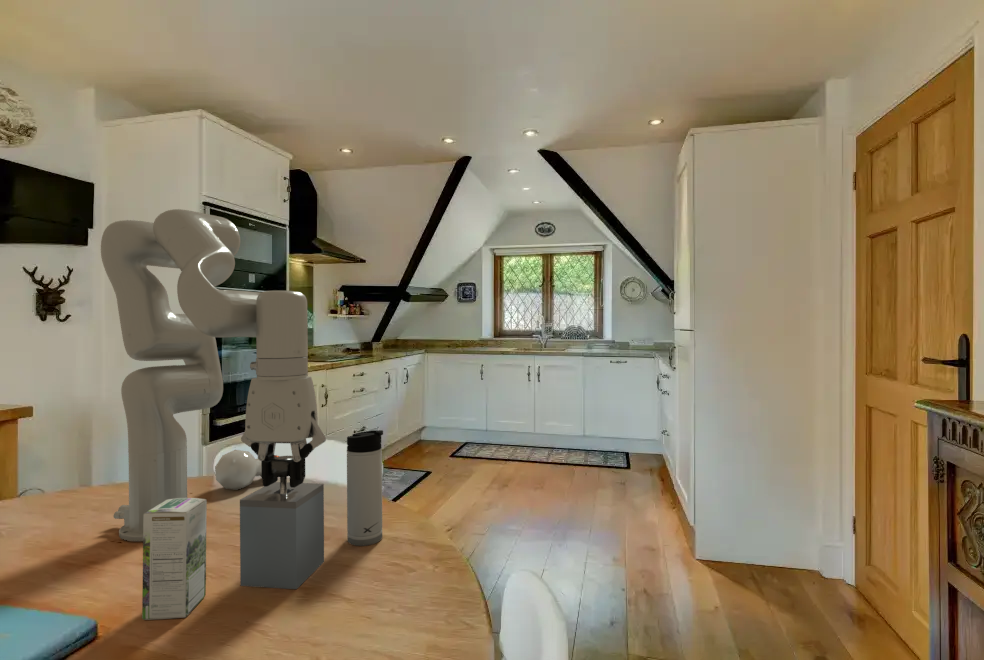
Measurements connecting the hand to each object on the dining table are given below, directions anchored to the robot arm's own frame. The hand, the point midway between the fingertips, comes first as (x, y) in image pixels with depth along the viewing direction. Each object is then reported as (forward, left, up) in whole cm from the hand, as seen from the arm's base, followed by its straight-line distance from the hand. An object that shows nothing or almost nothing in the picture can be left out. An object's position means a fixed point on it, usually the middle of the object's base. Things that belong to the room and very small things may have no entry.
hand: (283, 483), depth 81 cm
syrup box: (-10, -11, -14) cm, 21 cm away
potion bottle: (-34, +42, -15) cm, 56 cm away
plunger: (0, 0, -11) cm, 11 cm away
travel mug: (+8, +14, -14) cm, 22 cm away
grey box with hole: (0, 0, -14) cm, 14 cm away
